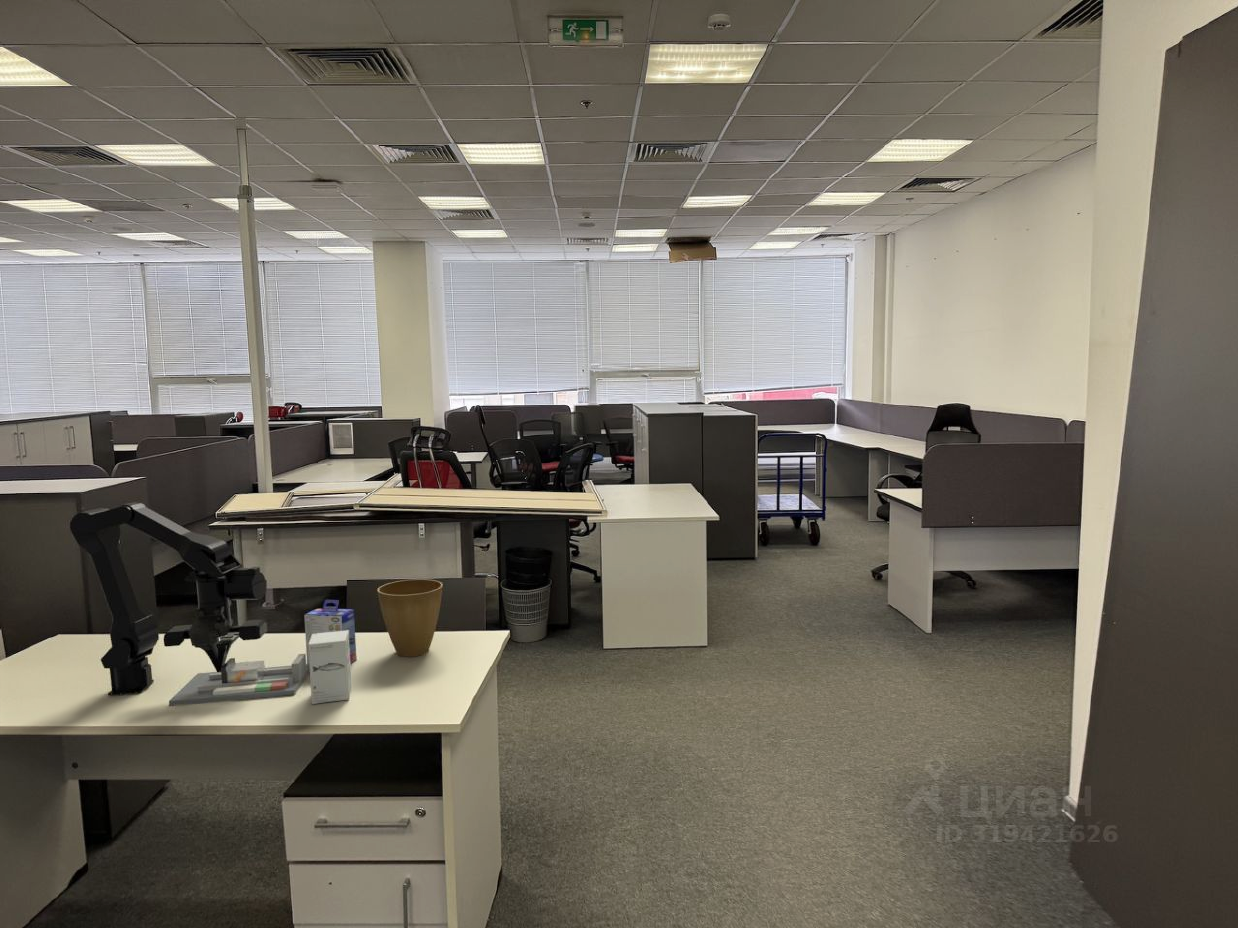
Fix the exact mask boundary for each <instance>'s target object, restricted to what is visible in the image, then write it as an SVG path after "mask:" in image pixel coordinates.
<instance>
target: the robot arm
mask: <svg viewBox="0 0 1238 928" xmlns="http://www.w3.org/2000/svg"><path fill="white" fill-rule="evenodd" d="M68 525H69V530H70V533H71V535H72V537H73V538H74V540H75V542H76V543H77V545H78V546H79V547H80V548H81V549H83V550H84V551H85V552H86V553H87V554H89V556H90V558H91V560H92V563H93V567H94V569H95V572H96V574H97V575H96V576H97V577H98V580H99V583H100V586H101V590H102V592H103V595H104V598H105V600H106V604H107V606H108V609H109V611H110V614H111V617H112V622H111V628H110V633H109V636H110V643H111V647H110V648H109V649H108V650H107V651H106V652H105V654H104V655H103V656H102V657H101V658H100V662H101V664H102V666H103V668H104V669H109V674H110V685H111V690H109V692H108V693H107V696H109V695H110V696H121V695H129V694H131V695H132V694H141V693H143V692H144V691H145V690H146V689H147V688H149V686H150V685H152V684H153V683H154V682H155V680H154V679H153V672H152V665H151V664H150V663H149V658H148V656H150V655H152V654H153V650H154V647H156V645H157V643H158V641H159V640H160V636H159V632H161V629H160V628H159V626H158V624H157V623H156V622H157V621H156V617H155V615H154V614H150V615H148V616H147V615H146V614H145V613H144V612H143V611H141V610H140V608H139V607H140V606H139V604H138V601H137V598H136V596H135V594H134V589H133V587H132V584H131V581H130V579H129V575H128V574H127V571H126V570H127V569H126V567H125V564H124V560H123V558H122V555H121V554H120V550H119V541H120V537H121V527H120V526H122V525H128V526H130V527H132V528H133V529H136V530H138V531H139V532H141V533H143V534H145V535H147V536H148V537H150V538H152V539H154V540H156V541H157V542H159V543H161V544H163V545H165V546H167V547H169V548H170V549H172V550H173V551H175V552H176V553H178V555H179V556H180V558H181V560H182V561H183V562H185V564H187V565H188V566H190V568H192V571H191V572H190V574H189V575H188V576H186V577H185V579H184V580H185V581H186V582H196V590H197V591H196V594H197V603H198V608H196V617H195V620H194V621H193V623H192V624H183V625H174V626H173V627H172V628H170V629H169V630H168V631H166V632H165V633H164V634H163V647H175V646H176V647H177V646H178V647H179V646H181V645H182V643H184V642H185V640H190V643H191V645H192V647H194V648H196V649H201V650H202V651H204V652H205V653H206V655H207V656H208V659H210V661H211V664H212V665H213V667H214V669H215V672H221V667H222V666H223V665H224V664H225V663H226V662H227V659H228V655H229V651H230V649H231V647H232V646H233V644H234V643H235V642H236V641H237V640H238V639H239V638H240V639H241V640H242V641H253V640H259V639H261V638H262V637H263V636H264V635H265V633H267V632H268V623H267V622H266V620H265V619H263V618H262V619H251V620H250V619H248V620H246V621H245V622H243V623H242V624H241V625H236V626H235V625H233V623H234V622H233V621H234V620H233V618H232V617H231V606H232V601H252V600H254V601H255V600H256V601H259V600H262V599H264V597H265V595H266V592H267V586H268V585H267V584H268V583H267V579H266V577H265V575H264V574H263V573H262V572H261V568H260V567H259V566H252V567H243V565H242V563H241V562H240V561H239V560H238V559H237V558H236V556H235V555H234V554H233V553H232V552H231V550H230V546H229V544H228V543H227V542H225V541H224V540H222V539H219V538H217V537H214V536H212V535H207V534H202V533H196V532H194V531H191V530H190V529H186V528H185V527H183V526H181V525H180V524H177V523H176V522H174V521H172V520H171V519H169V518H167V517H166V516H163V515H161V514H159V513H157V512H156V511H154V510H152V509H150V508H148V507H147V506H146V505H145V504H144V503H141V502H139V501H134V502H130V503H125V504H122V505H119V506H118V507H115V508H114V507H113V508H111V509H110V508H106V507H101V508H100V507H99V508H95V509H91V510H87V511H82V512H79V513H76V514H74V516H73V517H72V518H71V520H70V521H69V524H68ZM232 625H233V626H232ZM120 694H121V695H120Z"/></svg>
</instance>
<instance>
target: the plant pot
mask: <svg viewBox="0 0 1238 928" xmlns="http://www.w3.org/2000/svg"><path fill="white" fill-rule="evenodd" d="M443 586H444V585H443V582H441V581H438V580H434V579H425V578H424V579H422V578H420V579H419V578H417V579H416V578H415V579H403V580H398V581H393V582H389V583H385V584H384V585H381V586H379V587H378V588H377V597H378V600H379V605H380V610H381V613H382V618H383V622H384V623H385V628H386V631H387V632H388V635H389V638H390V642H391V644H392V646H393V648H394V650H395V652H396V654H397V655H398V656H400V657H405V658H412V657H413V656H414V657H418V655H419V656H423V655H424V653H425V654H427V653H428V651H430V648H431V645H432V642H433V639H434V635H435V632H436V627H437V625H438V624H437V623H438V620H439V614H440V608H441V603H442V594H443ZM426 652H427V653H426ZM422 654H423V655H422Z"/></svg>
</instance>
